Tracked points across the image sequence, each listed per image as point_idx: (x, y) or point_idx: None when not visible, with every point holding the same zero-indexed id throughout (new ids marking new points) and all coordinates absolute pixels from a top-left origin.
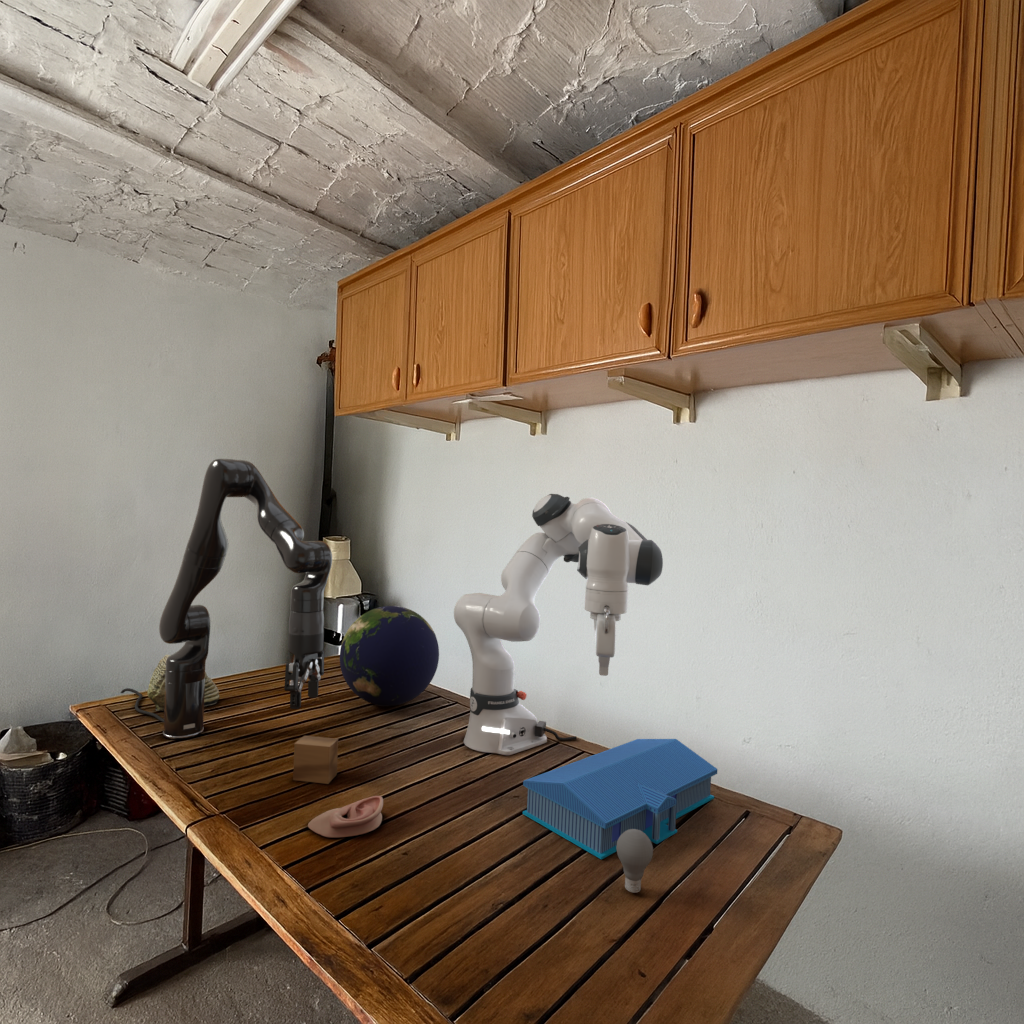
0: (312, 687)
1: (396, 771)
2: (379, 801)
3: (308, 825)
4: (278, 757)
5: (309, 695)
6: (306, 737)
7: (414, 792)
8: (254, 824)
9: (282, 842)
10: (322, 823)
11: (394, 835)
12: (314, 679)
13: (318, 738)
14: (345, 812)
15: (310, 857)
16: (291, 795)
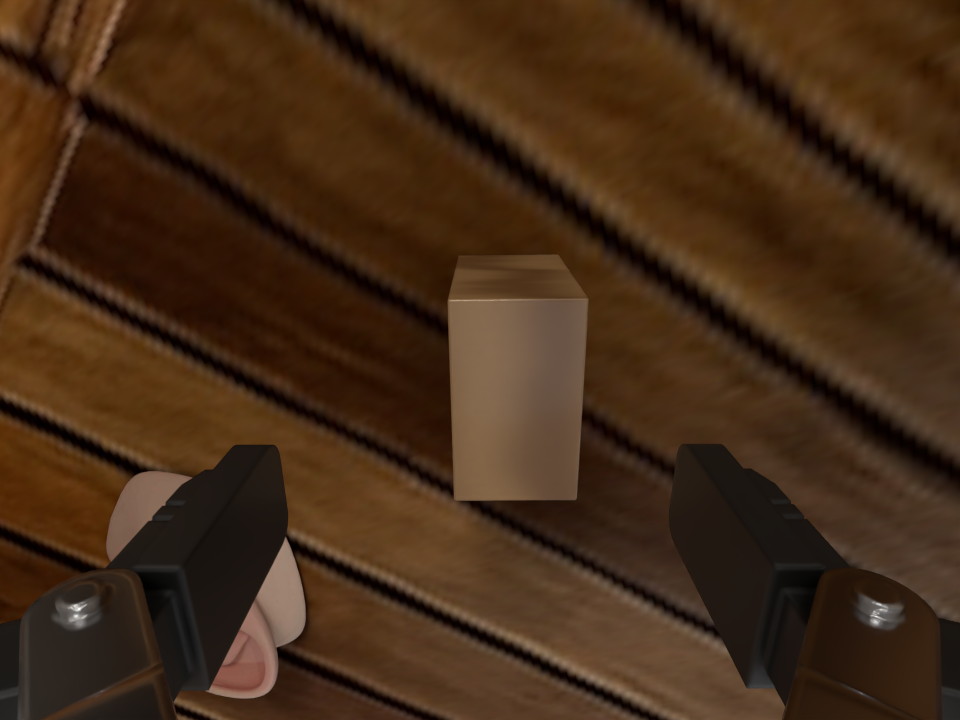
0: (720, 559)
1: (622, 590)
2: (260, 678)
3: (131, 480)
4: (708, 38)
5: (685, 463)
6: (558, 327)
7: (473, 673)
8: (75, 291)
9: (29, 437)
10: (129, 533)
11: None
12: (785, 674)
13: (556, 401)
14: None
15: (6, 541)
16: (328, 314)
